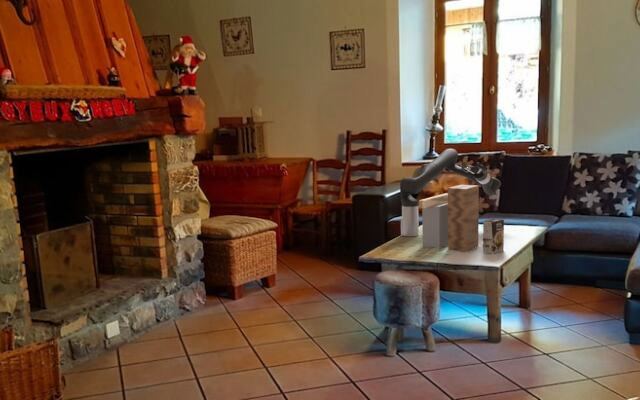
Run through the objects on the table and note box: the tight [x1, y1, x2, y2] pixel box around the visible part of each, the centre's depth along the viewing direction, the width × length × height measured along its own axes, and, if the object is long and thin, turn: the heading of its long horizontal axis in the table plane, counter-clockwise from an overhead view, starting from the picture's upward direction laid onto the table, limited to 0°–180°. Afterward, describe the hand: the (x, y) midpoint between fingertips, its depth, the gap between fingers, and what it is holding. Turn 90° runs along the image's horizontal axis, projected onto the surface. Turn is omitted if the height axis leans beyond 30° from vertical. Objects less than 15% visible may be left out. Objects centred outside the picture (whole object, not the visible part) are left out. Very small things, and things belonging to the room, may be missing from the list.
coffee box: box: [482, 218, 505, 255], centre depth 306 cm, size 9×6×16 cm
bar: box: [418, 192, 448, 209], centre depth 321 cm, size 3×28×4 cm, turn 140°
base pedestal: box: [421, 203, 448, 249], centre depth 323 cm, size 10×10×22 cm
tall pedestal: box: [447, 184, 480, 253], centre depth 314 cm, size 10×14×32 cm
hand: (470, 163), depth 338 cm, fingers open, 8 cm apart
